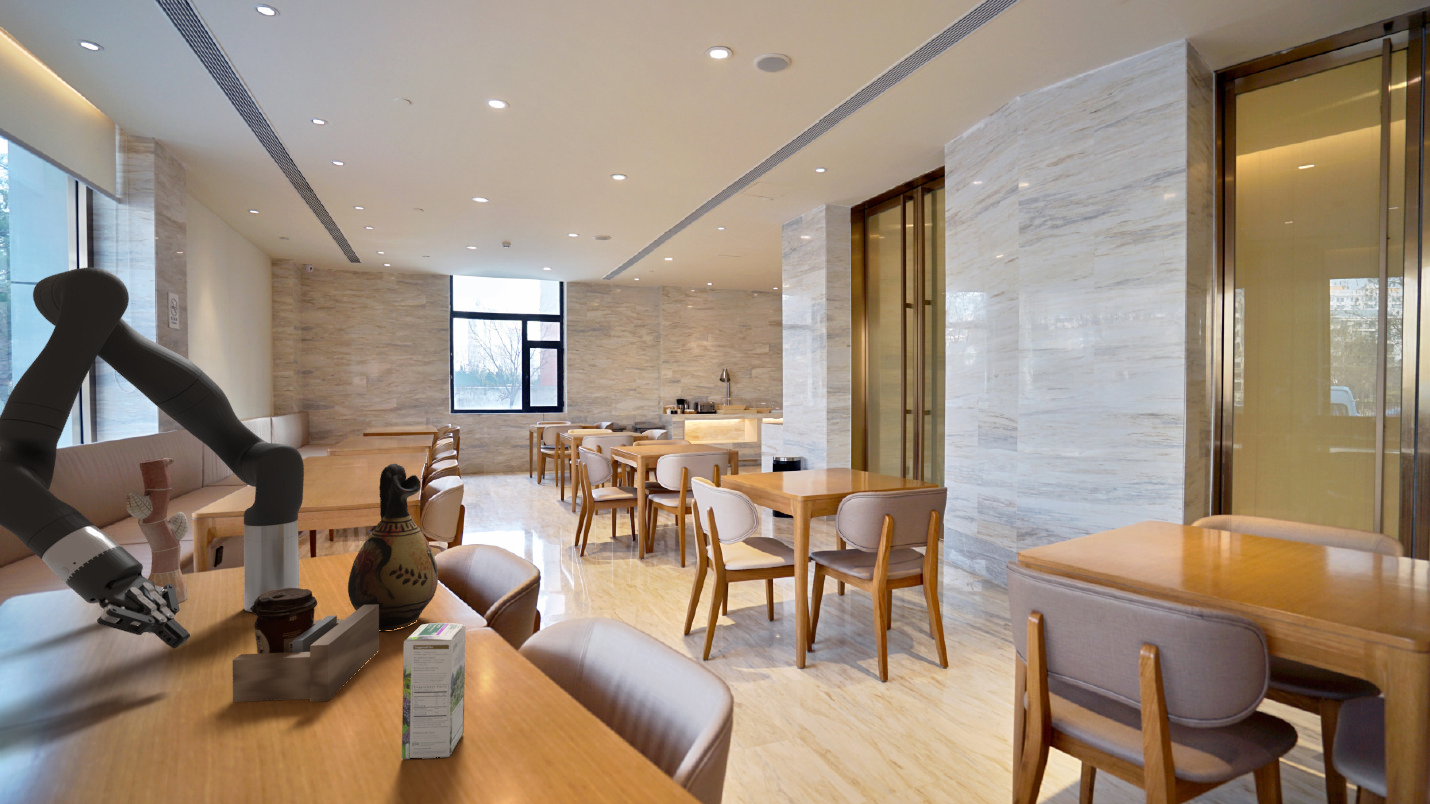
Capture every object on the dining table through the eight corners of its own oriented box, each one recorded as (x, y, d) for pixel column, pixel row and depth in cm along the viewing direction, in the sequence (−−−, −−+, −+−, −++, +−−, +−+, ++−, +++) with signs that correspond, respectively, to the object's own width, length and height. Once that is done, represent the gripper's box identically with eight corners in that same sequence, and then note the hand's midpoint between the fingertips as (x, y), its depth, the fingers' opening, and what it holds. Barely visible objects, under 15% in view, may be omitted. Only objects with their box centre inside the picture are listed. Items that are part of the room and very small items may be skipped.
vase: (185, 593, 143) (184, 455, 142) (196, 600, 138) (195, 457, 138) (121, 606, 134) (119, 459, 134) (130, 613, 130) (128, 461, 130)
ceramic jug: (452, 622, 126) (452, 465, 125) (366, 644, 115) (365, 472, 114) (415, 602, 138) (414, 459, 137) (333, 621, 126) (332, 464, 126)
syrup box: (418, 735, 84) (418, 622, 84) (466, 734, 85) (465, 621, 85) (401, 760, 79) (400, 639, 78) (452, 758, 79) (452, 638, 79)
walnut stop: (228, 705, 92) (228, 648, 92) (296, 654, 110) (295, 606, 110) (328, 701, 94) (327, 644, 93) (378, 651, 111) (378, 604, 111)
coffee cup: (246, 694, 96) (245, 604, 95) (254, 672, 103) (253, 589, 103) (316, 681, 100) (315, 596, 100) (319, 662, 107) (318, 582, 107)
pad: (292, 688, 96) (292, 640, 96) (327, 658, 107) (327, 615, 107) (302, 687, 97) (302, 640, 97) (336, 658, 107) (336, 615, 107)
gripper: (75, 556, 92) (170, 640, 93) (146, 536, 105) (229, 610, 107) (33, 595, 91) (130, 679, 93) (109, 570, 105) (193, 644, 106)
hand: (183, 642), depth 100 cm, fingers closed
